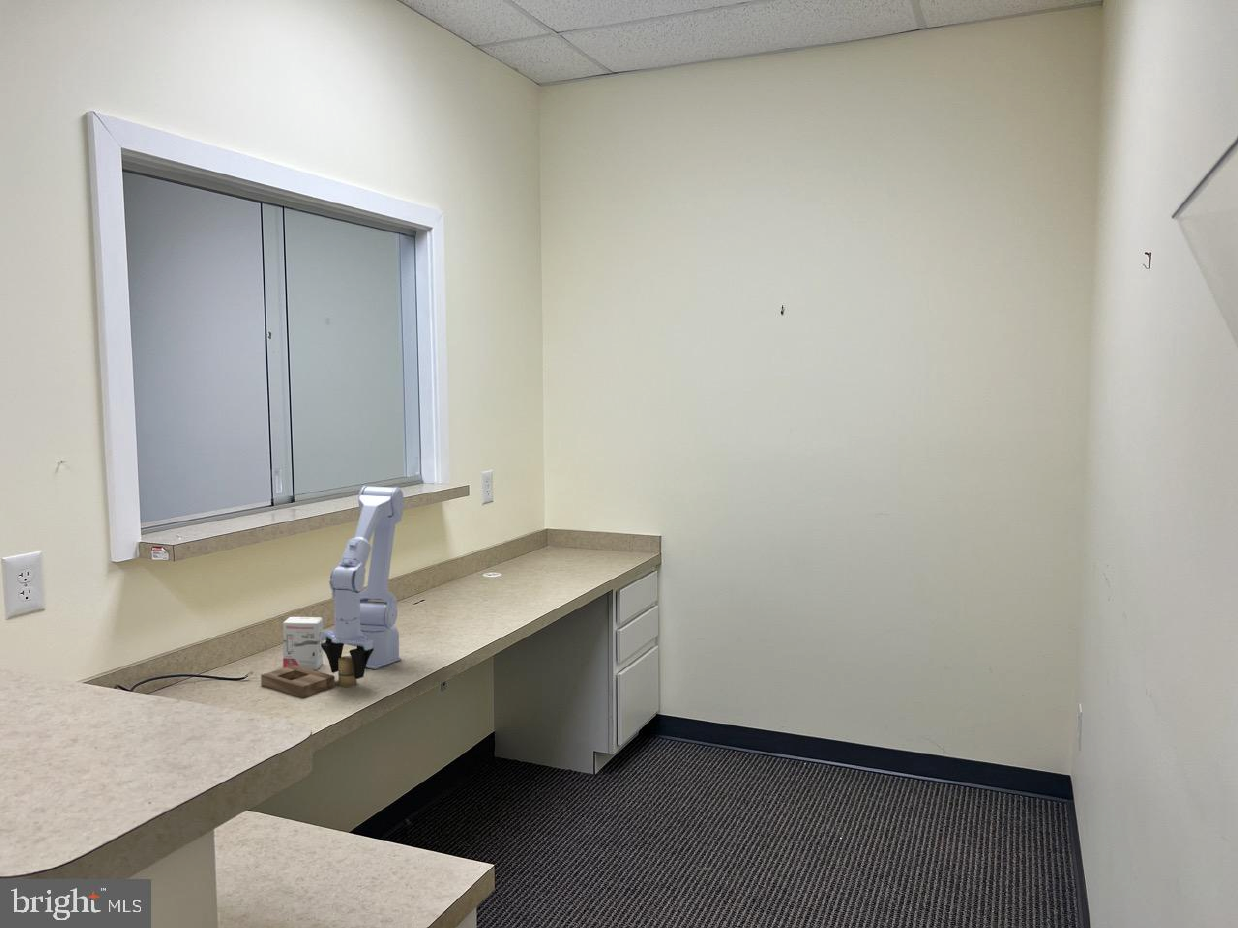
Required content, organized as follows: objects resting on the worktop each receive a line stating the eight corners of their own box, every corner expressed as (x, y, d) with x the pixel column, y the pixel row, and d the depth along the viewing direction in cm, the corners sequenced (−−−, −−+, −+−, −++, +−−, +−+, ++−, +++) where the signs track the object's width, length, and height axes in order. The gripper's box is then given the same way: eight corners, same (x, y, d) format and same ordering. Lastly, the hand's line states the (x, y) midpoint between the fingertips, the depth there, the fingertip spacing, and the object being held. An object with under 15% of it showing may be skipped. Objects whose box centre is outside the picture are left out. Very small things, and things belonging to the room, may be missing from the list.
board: (293, 674, 219) (293, 664, 219) (334, 686, 212) (334, 675, 212) (261, 685, 212) (261, 674, 211) (303, 697, 205) (303, 686, 204)
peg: (347, 679, 217) (347, 654, 217) (360, 682, 215) (360, 657, 214) (334, 684, 214) (334, 659, 213) (347, 687, 212) (346, 662, 211)
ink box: (281, 669, 223) (281, 621, 222) (288, 662, 228) (288, 616, 227) (317, 670, 223) (317, 622, 222) (323, 663, 228) (323, 617, 227)
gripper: (311, 615, 213) (312, 673, 214) (356, 626, 206) (356, 685, 207) (335, 609, 219) (335, 665, 220) (379, 619, 212) (379, 676, 213)
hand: (347, 674), depth 214 cm, fingers open, 7 cm apart
